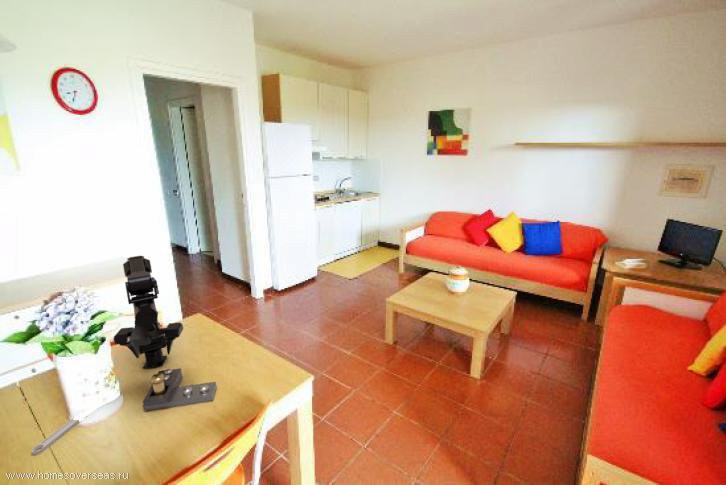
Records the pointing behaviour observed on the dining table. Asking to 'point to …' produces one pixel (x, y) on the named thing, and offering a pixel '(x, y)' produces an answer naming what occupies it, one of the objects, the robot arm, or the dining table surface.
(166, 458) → the dining table surface
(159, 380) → the pin
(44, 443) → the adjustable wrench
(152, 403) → the chain ends
